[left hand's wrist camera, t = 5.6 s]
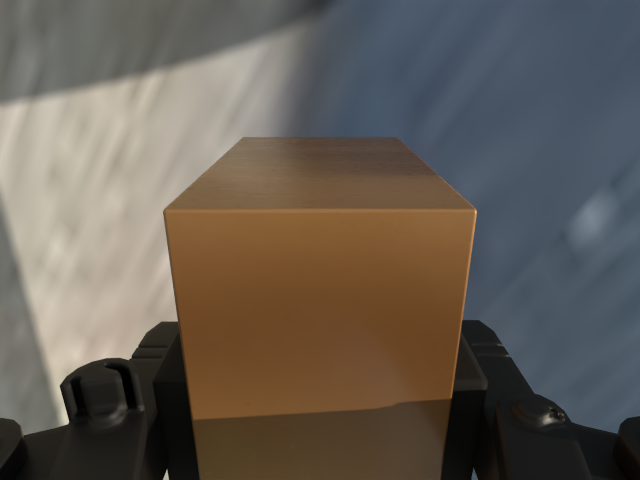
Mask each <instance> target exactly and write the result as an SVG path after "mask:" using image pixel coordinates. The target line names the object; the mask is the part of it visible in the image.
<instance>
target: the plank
mask: <svg viewBox="0 0 640 480" xmlns="http://www.w3.org/2000/svg"><path fill="white" fill-rule="evenodd" d="M163 215H164V222H165V230H166V237H167V244H168V252H169V259H170V266H171V274H172V281H173V288H174V296H175V303H176V310H177V317H178V325H179V332H180V339H181V347H182V354H183V361H184V369H185V376H186V383H187V391H188V398H189V405H190V413H191V420H192V427H193V434H194V442H195V449H196V456H197V464H198V471H199V478H200V480H441V473H442V466H443V458H444V451H445V444H446V436H447V429H448V422H449V414H450V407H451V399H452V392H453V385H454V377H455V370H456V363H457V355H458V348H459V340H460V333H461V326H462V318H463V311H464V304H465V296H466V289H467V281H468V274H469V267H470V259H471V252H472V245H473V237H474V230H475V222H476V215H477V211H476V209H475V208H474V207H473V206H472V205H471V204H470V203H469V202H468V201H466V200H465V199H464V198H463V197H462V196H461V195H460V194H459V193H458V192H457V191H455V190H454V189H453V188H452V187H451V186H450V185H449V184H448V183H447V182H446V181H444V180H443V179H442V178H441V177H440V176H439V175H438V174H437V173H436V172H435V171H433V170H432V169H431V168H430V167H429V166H428V165H427V164H426V163H425V162H424V161H423V160H421V159H420V158H419V157H418V156H417V155H416V154H415V153H414V152H413V151H412V150H410V149H409V148H408V147H407V146H406V145H405V144H404V143H403V142H402V141H401V140H399V139H398V138H397V137H244V138H242V139H241V140H240V141H239V142H238V143H236V144H235V145H234V146H233V147H232V148H231V149H230V150H229V151H228V152H227V153H225V154H224V155H223V156H222V157H221V158H220V159H219V160H218V161H217V162H216V163H214V164H213V165H212V166H211V167H210V168H209V169H208V170H207V171H206V172H205V173H203V174H202V175H201V176H200V177H199V178H198V179H197V180H196V181H195V182H194V183H192V184H191V185H190V186H189V187H188V188H187V189H186V190H185V191H184V192H183V193H181V194H180V195H179V196H178V197H177V198H176V199H175V200H174V201H173V202H172V203H170V204H169V205H168V206H167V207H166V208H165V209H164V211H163Z"/></svg>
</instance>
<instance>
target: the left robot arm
mask: <svg viewBox="0 0 640 480" xmlns="http://www.w3.org/2000/svg"><path fill="white" fill-rule="evenodd" d="M60 389H61V392H62V396H63V400H64V403H65V407H66V411H67V415H68V418H69V424H68V425H65V426H61V427H58V428H54V429H50V430H46V431H41V432H37V433H33V434H28V435H23V432H22V429H21V426H20V425H19V424H18V423H17V422H15V421H14V420H10V419H4V418H0V480H163V478H164V475H165V473H166V470H168V476H169V480H200V478H199V471H198V464H197V456H196V449H195V442H194V434H193V427H192V420H191V413H190V405H189V398H188V391H187V383H186V376H185V369H184V361H183V354H182V347H181V339H180V332H179V325H178V322H161V323H159V324H158V325H156V326H155V327H154V328H152V329H151V330H150V331H148V332H147V333H146V335H145V336H144V338H143V339H142V341H141V342H140V344H139V347H138V348H137V349H136V350H135V352H134V353H133V355H132V358H131V359H129V360H126V359H122V358H106V359H102V360H98V361H93V362H91V363H88V364H86V365H84V366H82V367H79V368H78V369H76V370H75V371H73V372H72V373H71V374H69V375H68V376H67V377H66V378H65V379H64V381H63V382H62V384H61V385H60ZM473 467H474V470H475V472H476V475H477V478H478V480H640V416H638V417H632V418H627V419H626V420H625V421H624V422H622V423H621V424H620V427H619V430H618V434H615V433H611V432H607V431H602V430H598V429H594V428H589V427H585V426H582V425H578V424H575V423H572V422H571V421H570V419H569V418H568V416H567V414H566V413H565V411H564V410H563V409H561V408H560V407H559V406H558V405H557V404H555V403H554V402H553V401H551V400H549V399H547V398H545V397H543V396H541V395H537V394H534V392H533V391H532V389H531V388H530V386H529V385H528V383H527V382H526V380H525V378H524V377H523V375H522V374H521V372H520V371H519V369H518V368H517V366H516V365H515V363H514V362H513V360H512V358H511V357H509V354H508V352H507V351H506V349H505V348H504V347H502V343H501V342H500V340H499V339H498V337H497V335H496V334H495V332H494V331H493V330H491V329H490V328H489V327H487V326H486V325H485V324H483V323H482V322H480V321H479V320H462V326H461V333H460V340H459V348H458V355H457V363H456V370H455V377H454V385H453V392H452V399H451V407H450V414H449V422H448V429H447V436H446V444H445V451H444V458H443V466H442V473H441V480H471V477H472V472H473Z"/></svg>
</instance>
